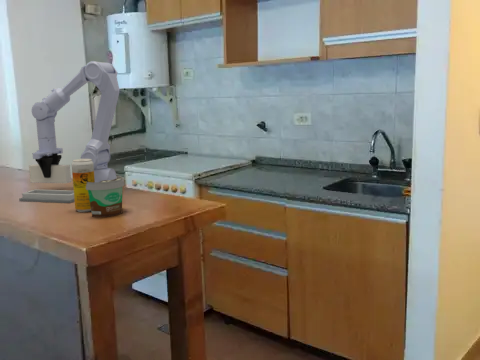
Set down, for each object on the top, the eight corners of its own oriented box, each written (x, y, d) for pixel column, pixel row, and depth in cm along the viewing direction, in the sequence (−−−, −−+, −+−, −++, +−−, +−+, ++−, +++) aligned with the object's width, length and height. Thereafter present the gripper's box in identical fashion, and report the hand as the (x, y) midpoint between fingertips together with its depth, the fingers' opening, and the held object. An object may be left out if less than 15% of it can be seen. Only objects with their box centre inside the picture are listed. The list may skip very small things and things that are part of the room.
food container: (103, 220, 134) (100, 184, 132) (88, 217, 137) (85, 182, 135) (135, 210, 144) (133, 177, 142) (120, 208, 148) (118, 175, 146)
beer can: (77, 213, 142) (73, 162, 139) (73, 209, 147) (69, 159, 144) (98, 210, 145) (95, 160, 142) (94, 206, 150) (90, 157, 147)
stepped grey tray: (85, 196, 164) (84, 190, 163) (70, 203, 155) (69, 196, 155) (36, 195, 168) (35, 188, 168) (19, 201, 159) (18, 194, 159)
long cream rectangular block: (71, 181, 172) (69, 164, 171) (66, 183, 169) (64, 166, 168) (35, 180, 175) (34, 164, 174) (30, 182, 172) (28, 165, 171)
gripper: (49, 135, 177) (52, 172, 180) (23, 139, 163) (27, 180, 166) (66, 135, 175) (69, 173, 178) (41, 140, 162) (45, 180, 164)
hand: (50, 176), depth 172 cm, fingers closed on long cream rectangular block, 3 cm apart
